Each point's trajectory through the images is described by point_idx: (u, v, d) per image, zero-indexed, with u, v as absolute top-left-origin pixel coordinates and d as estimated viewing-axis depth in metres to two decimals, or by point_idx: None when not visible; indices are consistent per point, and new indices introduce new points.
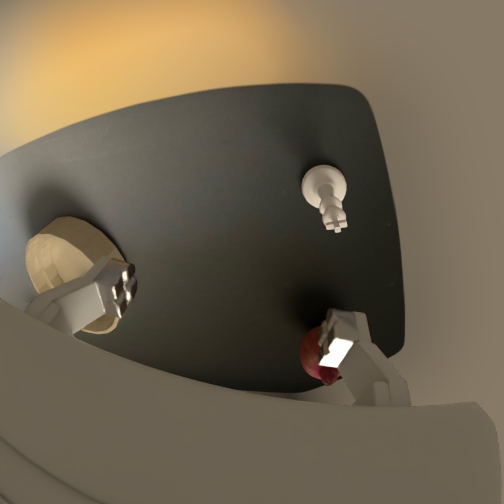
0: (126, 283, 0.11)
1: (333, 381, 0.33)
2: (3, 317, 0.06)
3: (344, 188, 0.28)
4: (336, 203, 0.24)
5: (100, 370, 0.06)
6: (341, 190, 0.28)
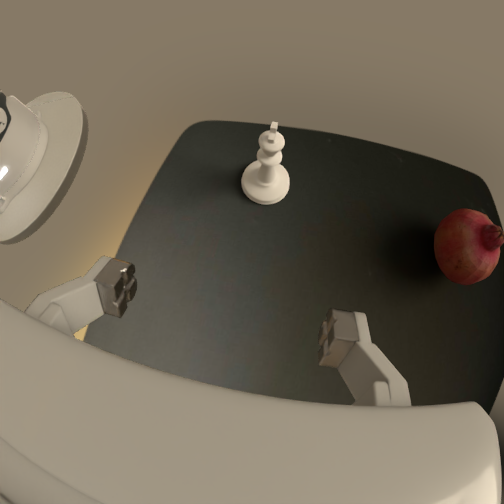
0: (126, 283, 0.11)
1: (499, 228, 0.18)
2: (3, 317, 0.06)
3: None
4: None
5: (100, 369, 0.06)
6: None
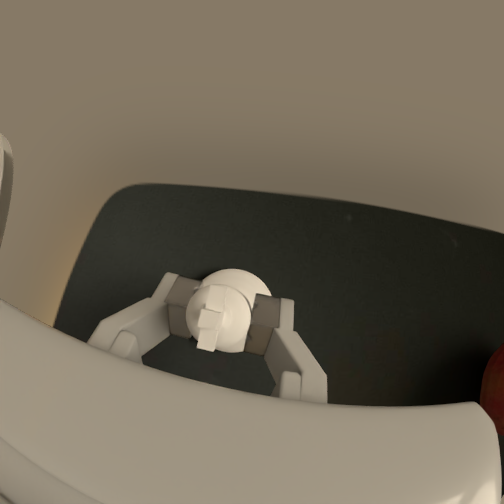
0: None
1: None
2: (3, 317, 0.06)
3: (244, 275, 0.16)
4: None
5: (100, 369, 0.06)
6: (245, 281, 0.16)
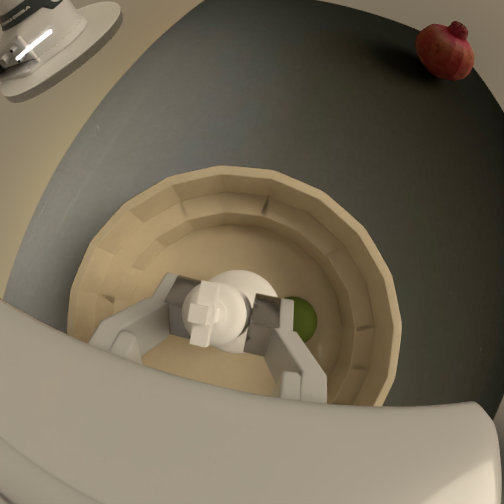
0: None
1: (459, 22, 0.16)
2: (3, 317, 0.06)
3: (248, 275, 0.16)
4: None
5: (100, 370, 0.06)
6: (249, 281, 0.15)
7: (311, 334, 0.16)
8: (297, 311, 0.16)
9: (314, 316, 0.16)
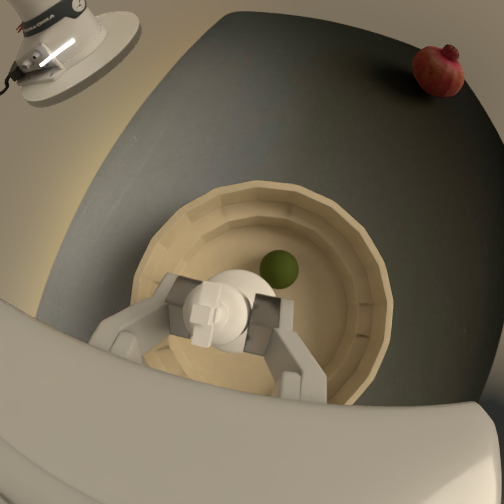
0: None
1: (451, 45, 0.21)
2: (3, 317, 0.06)
3: (247, 275, 0.16)
4: None
5: (100, 369, 0.06)
6: (248, 281, 0.15)
7: (268, 253, 0.23)
8: None
9: None
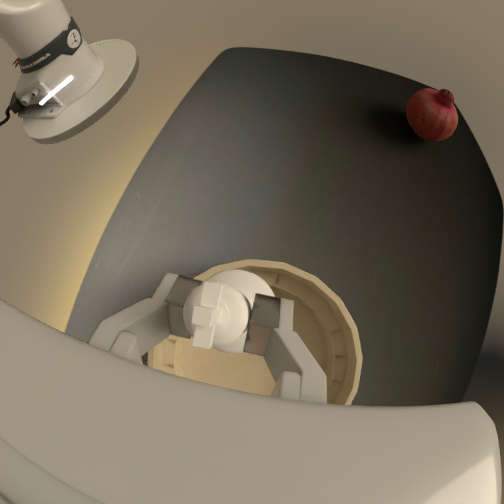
0: None
1: (447, 90, 0.25)
2: (3, 317, 0.06)
3: (246, 275, 0.16)
4: None
5: (100, 369, 0.06)
6: (247, 281, 0.15)
7: None
8: None
9: None
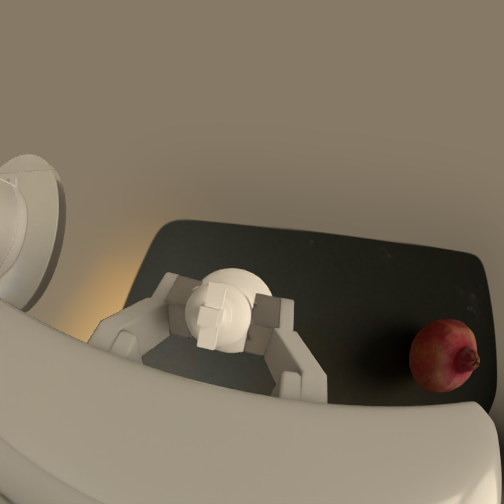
0: None
1: (475, 356, 0.18)
2: (3, 317, 0.06)
3: (243, 274, 0.16)
4: None
5: (100, 369, 0.06)
6: (244, 280, 0.15)
7: None
8: None
9: None
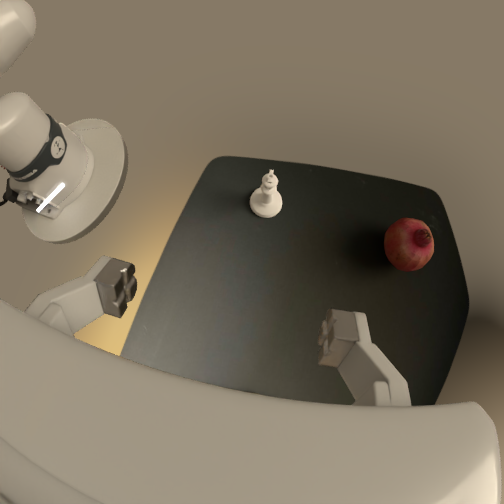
0: (127, 283, 0.11)
1: (427, 231, 0.32)
2: (3, 317, 0.06)
3: None
4: None
5: (101, 369, 0.06)
6: None
7: None
8: None
9: None
